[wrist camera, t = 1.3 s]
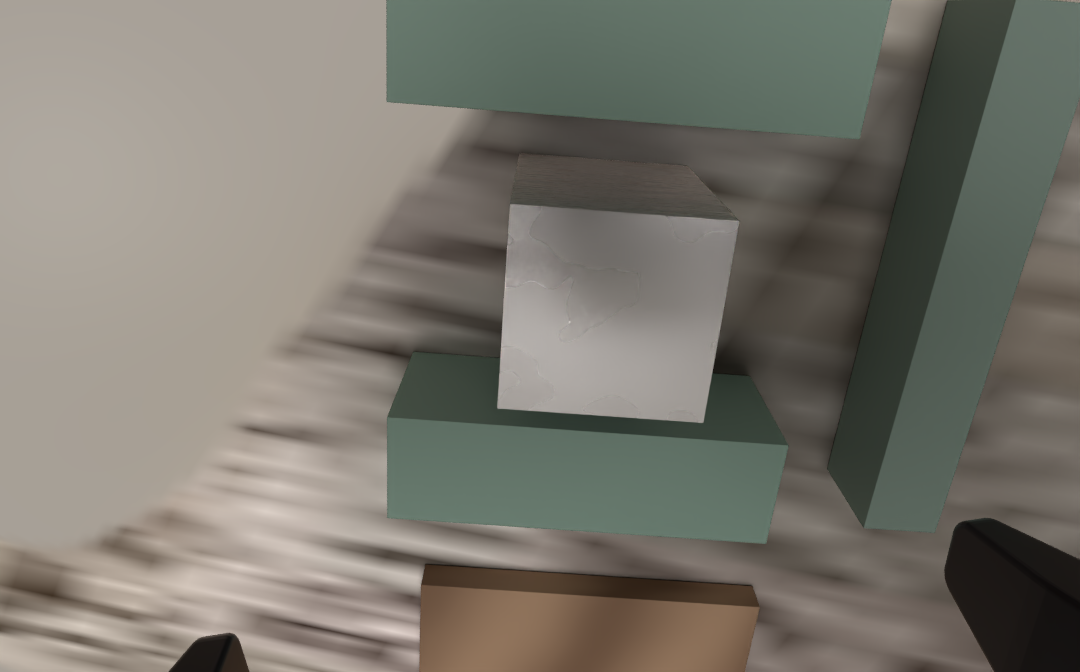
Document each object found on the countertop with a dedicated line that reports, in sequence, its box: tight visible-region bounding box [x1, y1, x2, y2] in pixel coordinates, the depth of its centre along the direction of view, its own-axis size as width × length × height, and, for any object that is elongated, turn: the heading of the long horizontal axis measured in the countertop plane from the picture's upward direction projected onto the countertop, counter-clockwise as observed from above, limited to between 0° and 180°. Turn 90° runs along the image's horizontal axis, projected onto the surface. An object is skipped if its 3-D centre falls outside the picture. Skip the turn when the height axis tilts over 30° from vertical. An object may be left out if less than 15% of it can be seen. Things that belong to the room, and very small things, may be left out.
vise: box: [387, 0, 1080, 544], centre depth 19 cm, size 15×16×4 cm
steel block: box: [497, 153, 739, 423], centre depth 19 cm, size 4×4×6 cm
